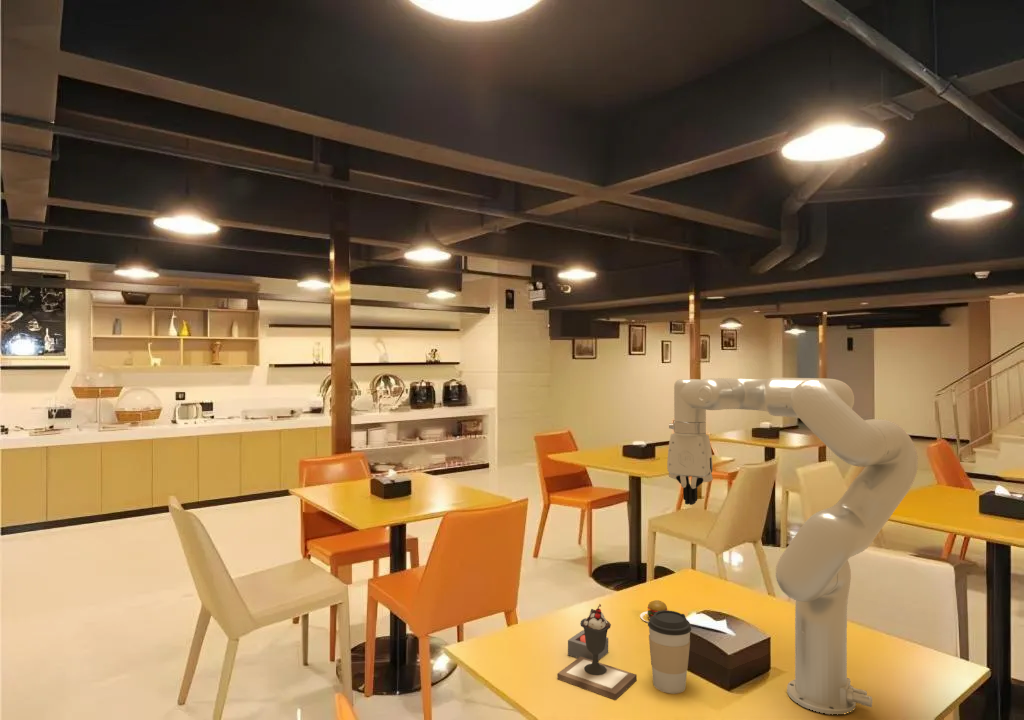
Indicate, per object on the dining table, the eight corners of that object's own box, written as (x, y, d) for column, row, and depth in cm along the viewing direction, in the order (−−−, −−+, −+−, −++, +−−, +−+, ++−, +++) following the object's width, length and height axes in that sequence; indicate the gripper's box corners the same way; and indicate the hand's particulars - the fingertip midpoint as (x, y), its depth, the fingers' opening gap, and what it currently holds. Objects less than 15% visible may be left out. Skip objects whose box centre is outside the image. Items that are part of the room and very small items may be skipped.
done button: (599, 645, 145) (599, 637, 145) (591, 651, 142) (591, 643, 142) (585, 641, 147) (585, 633, 147) (577, 647, 144) (577, 638, 144)
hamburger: (630, 612, 171) (630, 592, 172) (672, 612, 172) (672, 593, 172) (639, 630, 159) (639, 609, 160) (685, 630, 160) (685, 609, 160)
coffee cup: (649, 694, 127) (649, 621, 127) (645, 673, 136) (646, 605, 136) (694, 697, 125) (694, 624, 126) (687, 676, 134) (687, 607, 135)
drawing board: (636, 680, 132) (636, 673, 132) (615, 700, 124) (615, 693, 124) (580, 661, 141) (580, 655, 141) (557, 678, 133) (557, 672, 133)
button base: (608, 652, 145) (608, 637, 145) (594, 663, 140) (594, 648, 140) (582, 644, 149) (582, 630, 150) (567, 655, 144) (567, 640, 144)
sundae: (601, 680, 129) (602, 609, 130) (574, 670, 133) (575, 602, 134) (616, 668, 135) (616, 600, 135) (589, 659, 139) (590, 593, 139)
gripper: (655, 428, 152) (655, 502, 151) (715, 431, 143) (716, 510, 143) (666, 426, 158) (666, 497, 157) (725, 429, 149) (725, 504, 149)
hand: (690, 503), depth 150 cm, fingers closed
